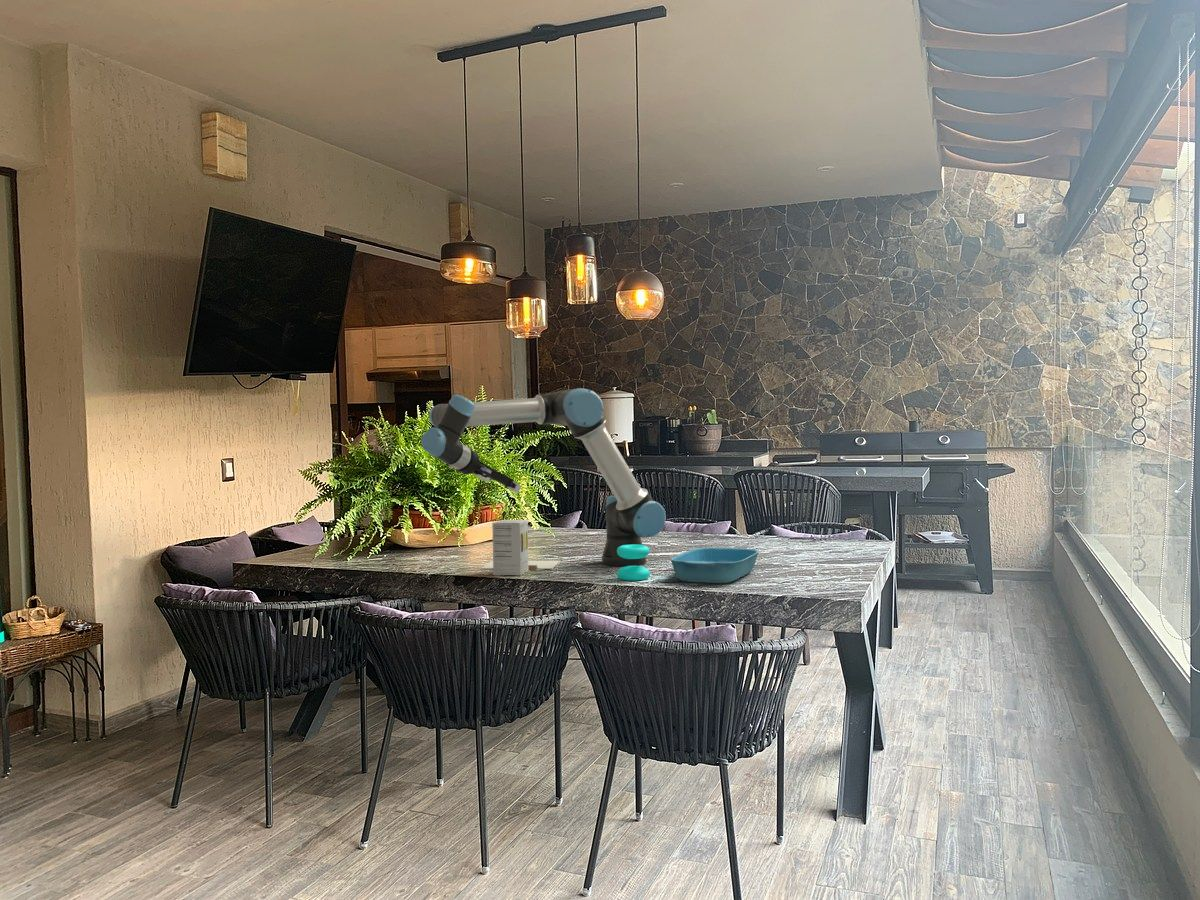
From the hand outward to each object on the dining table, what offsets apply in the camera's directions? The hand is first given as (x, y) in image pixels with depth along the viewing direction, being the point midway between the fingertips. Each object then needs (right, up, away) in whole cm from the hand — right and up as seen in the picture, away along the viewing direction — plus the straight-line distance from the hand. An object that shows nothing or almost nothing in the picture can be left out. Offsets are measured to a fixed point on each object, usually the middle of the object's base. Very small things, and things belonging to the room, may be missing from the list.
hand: (503, 484), depth 299 cm
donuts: (+41, -29, -12) cm, 51 cm away
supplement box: (+2, -29, +1) cm, 29 cm away
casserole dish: (+66, -28, -9) cm, 73 cm away
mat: (+4, -28, +16) cm, 33 cm away
